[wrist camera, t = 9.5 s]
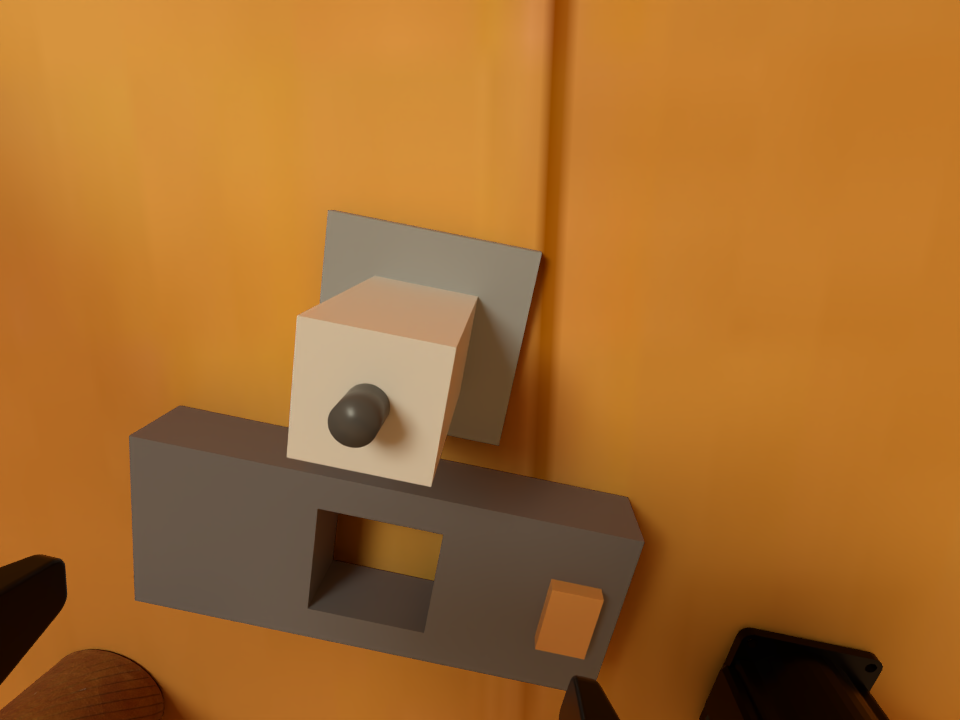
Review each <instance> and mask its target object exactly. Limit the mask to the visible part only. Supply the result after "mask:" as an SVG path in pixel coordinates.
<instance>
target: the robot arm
mask: <svg viewBox="0 0 960 720" xmlns="http://www.w3.org/2000/svg"><path fill="white" fill-rule="evenodd" d="M66 598H67V585H66V571H65V563H64V562H63V561H62V560H61V559H59V558H55V557H51V556H46V555H33V556H30V557H27V558H25V559H22V560H19V561H16V562H14V563H11V564H8V565H6V566H3V567H0V685H1V684H2V683H3V681H4V680H5V679H6V678H7V676H8V675H9V674H10V673H11V671H12V670H13V669H14V668H15V667H16V665H17V664H18V663H19V662H20V660H21V659H22V658H23V657H24V655H25V654H26V653H27V652H28V651H29V649H30V648H31V647H32V646H33V644H34V643H35V642H36V641H37V639H38V638H39V637H40V636H41V635H42V633H43V632H44V631H45V630H46V628H47V627H48V626H49V625H50V623H51V622H52V621H53V620H54V619H55V617H56V616H57V615H58V614H59V612H60V611H61V609H62V608H63V606H64V604H65V602H66ZM750 639H751V640H750ZM882 668H883V666H882V663H881V662H880V661H879V660H878V658H877V657H876V656H875V655H874V654H872V653H870V652H865V651H860V650H856V649H851V648H846V647H841V646H836V645H832V644H827V643H822V642H817V641H812V640H807V639H803V638H798V637H793V636H788V635H783V634H779V633H774V632H769V631H764V630H759V629H754V628H744V629H742V630H741V631H739V633H738V634H737V636H736V638H735V640H734V643H733V645H732V647H731V649H730V652H729V654H728V656H727V658H726V660H725V663H724V665H723V667H722V669H721V670H720V672H719V674H718V677H717V679H716V681H715V683H714V685H713V688H712V690H711V692H710V694H709V696H708V699H707V701H706V703H705V707H704V709H703V711H702V714H701V716H700V718H699V720H889V719H888V717H887V716H886V714H885V713H884V712H883V710H882V709H881V707H880V706H879V705H878V703H877V702H876V700H875V699H874V698H873V696H872V695H871V694H870V692H869V691H870V690H871V688H872V686H873V685H874V683H875V681H876V679H877V678H878V676H879V674H880V673H881V671H882ZM559 720H620V719H619V717H618V715H617V714H616V712H615V710H614V708H613V707H612V705H611V703H610V702H609V700H608V698H607V696H606V695H605V693H604V691H603V689H602V688H601V686H600V684H599V683H598V682H597V681H596V680H595V679H592V678H587V677H583V676H578V675H574V676H573V677H572V678H571V680H570V682H569V685H568V688H567V691H566V694H565V697H564V700H563V703H562V706H561V709H560V714H559Z"/></svg>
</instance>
